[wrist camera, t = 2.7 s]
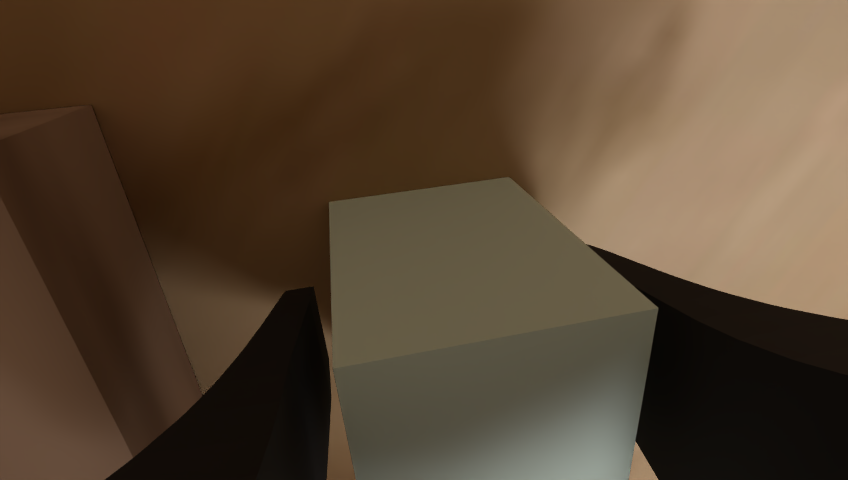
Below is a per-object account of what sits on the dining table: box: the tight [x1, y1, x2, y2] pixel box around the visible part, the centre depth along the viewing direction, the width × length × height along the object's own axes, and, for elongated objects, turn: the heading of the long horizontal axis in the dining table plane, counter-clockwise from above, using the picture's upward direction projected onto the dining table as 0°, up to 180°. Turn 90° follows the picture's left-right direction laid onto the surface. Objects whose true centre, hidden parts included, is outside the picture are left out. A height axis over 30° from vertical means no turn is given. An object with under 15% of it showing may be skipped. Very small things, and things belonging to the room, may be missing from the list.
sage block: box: [329, 177, 658, 480], centre depth 10 cm, size 4×4×6 cm
